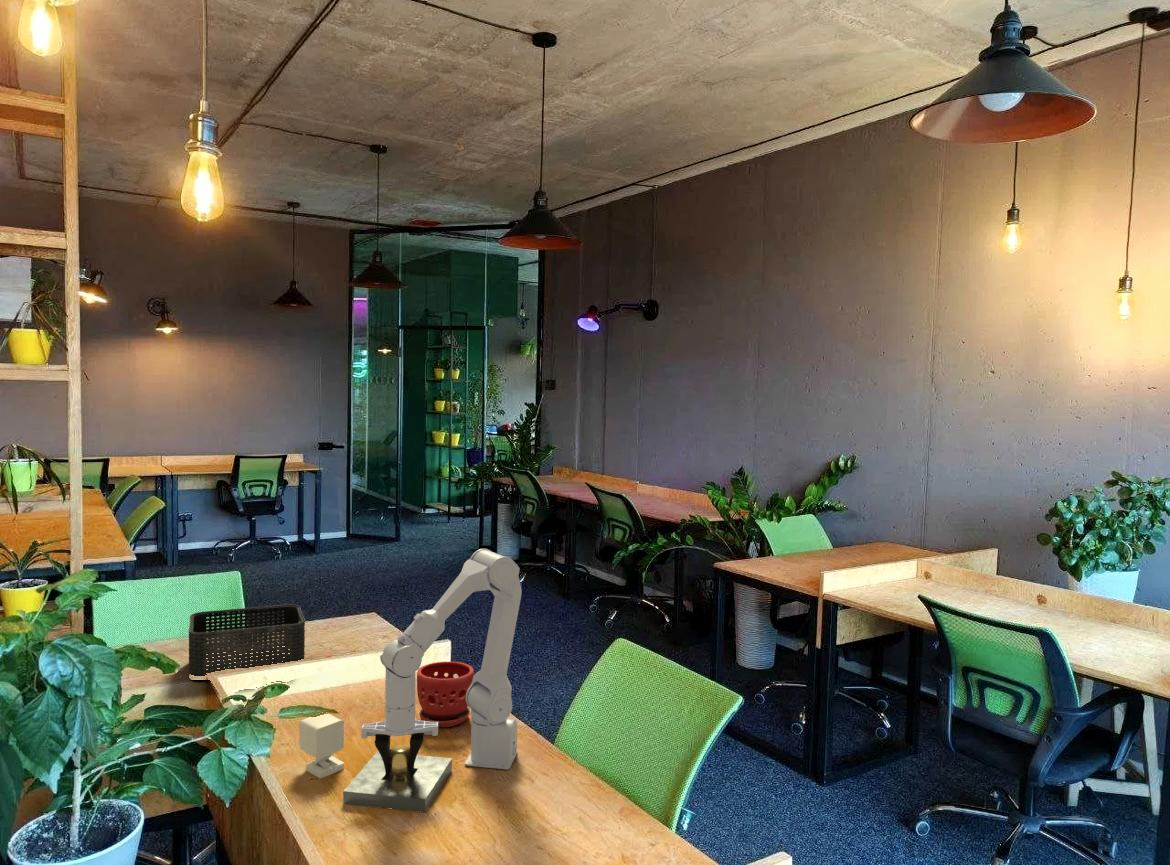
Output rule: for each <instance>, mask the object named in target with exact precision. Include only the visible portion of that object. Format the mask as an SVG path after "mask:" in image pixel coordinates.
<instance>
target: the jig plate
mask: <svg viewBox="0 0 1170 865" xmlns="http://www.w3.org/2000/svg"><path fill="white" fill-rule="evenodd" d="M452 762H453V758H451V757H450V758H449V757H441V756H432V755H431V756H430V755H420V754H417V756H416V759H415V763H414V770H413V773H410V781H409V782H398V781H389V773H388V774H386V772H385V767H384V763H383V760H382V757H381V755H380V753H379V751H378V750H377V751H376V752H375V754H374V755H372V757H371V758H370V759H369V761H367V763H366V764H365V765H364V766H363V767H362V768H361V770H360V771H359V772H358V773H357V774H356V776H355V777H354V778H353V779H352V780H351V782H350V783H349V784H348V785H347V786H346V788H344V789H343V791H342V793H343V794H342V796H343V798H342V799H343V800H342V804H343V805H349V806H361V807H368V806H369V807H370V806H371V807H370V808H377V807H381V808H380V809H387V808H392V809H391V810H396V809H399V810H398V811H405V810H409V811H408V812H415V811H419V812H418V813H424V812H425V813H426V812H427V811H426V810H428V809H429V807H430V806H431V804H432V803H433V801H434V799H435V798H436V796H437V795H438V793H439V792H440V789H441V788H442V787H443V785H444V784H445V783H446V781H447V779H448V777H449V775H450V774H451V772H452V770H453V768H452V767H453V763H452ZM429 805H430V806H429ZM420 811H421V812H420Z"/></svg>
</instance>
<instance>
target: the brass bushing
mask: <svg viewBox="0 0 1170 865" xmlns="http://www.w3.org/2000/svg"><path fill="white" fill-rule="evenodd" d="M409 766H410V746H407V745H397V746H392V747H390V772H389V781H398V782H409V781H410V773H409Z"/></svg>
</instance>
